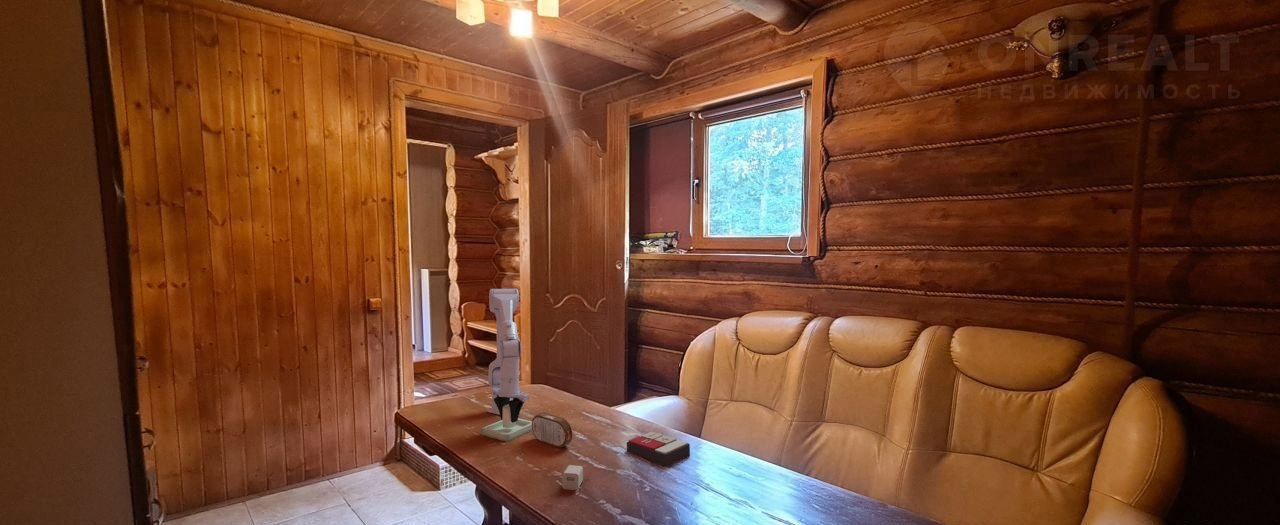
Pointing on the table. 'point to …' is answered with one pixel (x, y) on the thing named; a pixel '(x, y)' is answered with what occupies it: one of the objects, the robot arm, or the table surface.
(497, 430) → the trough tray
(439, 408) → the table surface
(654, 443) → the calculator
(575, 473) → the usb wall charger
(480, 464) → the table surface
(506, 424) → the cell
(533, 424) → the tin
